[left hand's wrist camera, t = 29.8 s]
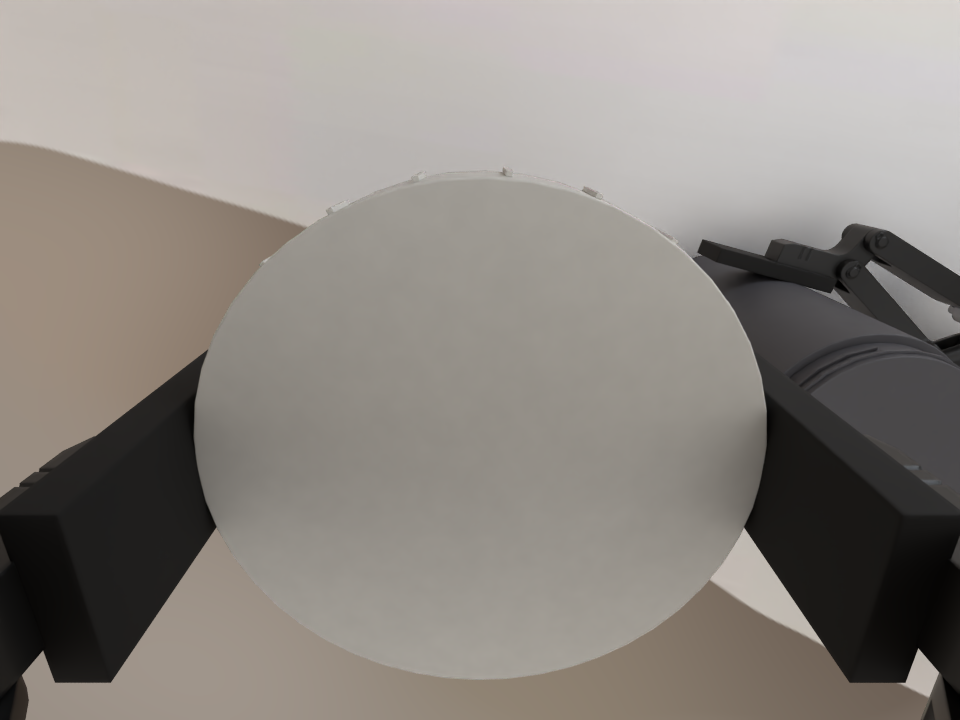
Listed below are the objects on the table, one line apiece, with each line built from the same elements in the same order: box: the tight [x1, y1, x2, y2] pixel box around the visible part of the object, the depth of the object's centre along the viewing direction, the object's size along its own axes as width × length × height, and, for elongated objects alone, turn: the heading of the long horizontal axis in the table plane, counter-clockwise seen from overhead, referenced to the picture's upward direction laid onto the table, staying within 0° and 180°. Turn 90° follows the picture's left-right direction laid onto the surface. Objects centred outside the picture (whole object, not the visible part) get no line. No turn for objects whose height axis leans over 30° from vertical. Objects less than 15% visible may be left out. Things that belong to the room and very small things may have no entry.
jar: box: [693, 256, 960, 494], centre depth 30 cm, size 9×9×18 cm
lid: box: [194, 167, 767, 680], centre depth 11 cm, size 10×10×2 cm
